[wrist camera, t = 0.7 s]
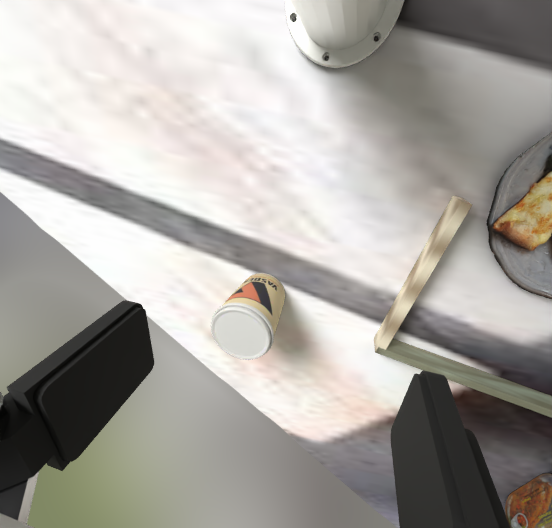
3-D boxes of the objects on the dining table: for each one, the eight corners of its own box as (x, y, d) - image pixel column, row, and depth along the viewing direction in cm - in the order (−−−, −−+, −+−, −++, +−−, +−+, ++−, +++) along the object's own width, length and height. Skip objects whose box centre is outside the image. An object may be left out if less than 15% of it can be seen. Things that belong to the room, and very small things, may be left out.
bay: (453, 195, 36) (461, 201, 33) (728, 276, 32) (767, 292, 29) (374, 338, 48) (375, 352, 45) (569, 409, 44) (584, 429, 41)
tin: (556, 464, 49) (591, 522, 42) (574, 472, 49) (612, 532, 42) (497, 499, 57) (518, 555, 49) (512, 507, 56) (535, 563, 49)
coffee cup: (291, 272, 47) (272, 313, 36) (289, 318, 51) (271, 367, 40) (238, 265, 49) (205, 302, 38) (240, 309, 53) (211, 354, 42)
